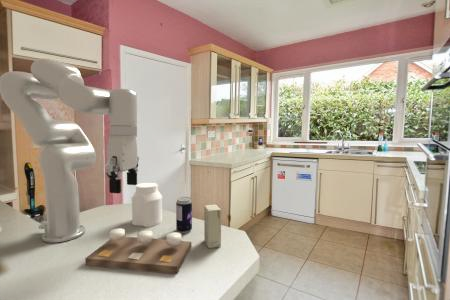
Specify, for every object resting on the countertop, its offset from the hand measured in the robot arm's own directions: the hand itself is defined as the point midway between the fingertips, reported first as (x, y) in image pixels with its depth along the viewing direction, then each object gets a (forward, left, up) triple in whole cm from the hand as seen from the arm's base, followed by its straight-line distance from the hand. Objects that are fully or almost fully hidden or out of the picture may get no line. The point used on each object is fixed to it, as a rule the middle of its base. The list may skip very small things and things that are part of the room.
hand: (124, 188), depth 74 cm
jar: (-3, +22, -20) cm, 30 cm away
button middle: (+7, -1, -15) cm, 17 cm away
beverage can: (+14, +16, -20) cm, 29 cm away
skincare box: (+26, +8, -20) cm, 33 cm away
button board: (+7, -3, -19) cm, 21 cm away
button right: (+16, -1, -15) cm, 22 cm away
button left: (-2, -1, -15) cm, 15 cm away
